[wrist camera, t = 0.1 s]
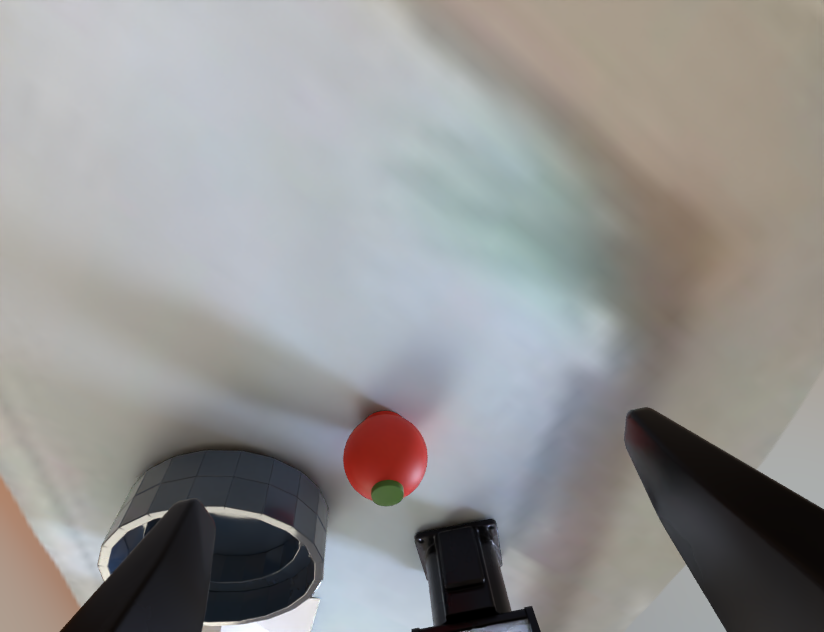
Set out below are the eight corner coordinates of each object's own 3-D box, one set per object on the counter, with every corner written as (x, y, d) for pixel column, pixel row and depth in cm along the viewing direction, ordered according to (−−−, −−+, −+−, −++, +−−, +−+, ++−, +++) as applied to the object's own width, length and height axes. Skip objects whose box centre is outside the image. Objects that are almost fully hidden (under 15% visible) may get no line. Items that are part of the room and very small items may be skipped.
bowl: (348, 543, 35) (346, 604, 31) (185, 575, 35) (163, 640, 31) (294, 425, 28) (283, 486, 24) (91, 467, 28) (49, 533, 24)
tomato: (428, 445, 30) (439, 514, 26) (355, 459, 30) (354, 531, 26) (415, 389, 27) (424, 456, 23) (335, 406, 27) (330, 475, 23)
